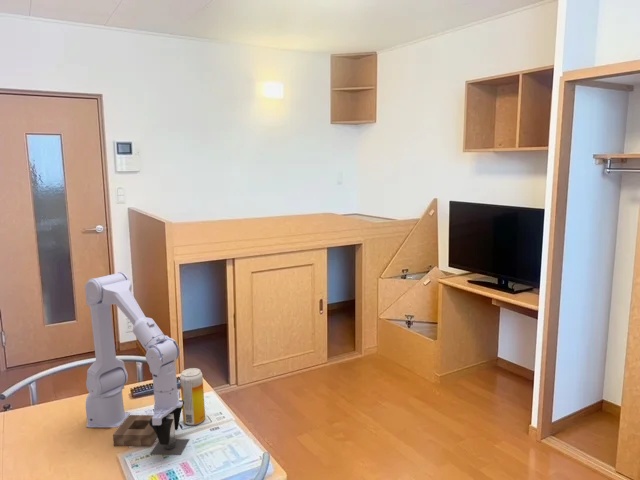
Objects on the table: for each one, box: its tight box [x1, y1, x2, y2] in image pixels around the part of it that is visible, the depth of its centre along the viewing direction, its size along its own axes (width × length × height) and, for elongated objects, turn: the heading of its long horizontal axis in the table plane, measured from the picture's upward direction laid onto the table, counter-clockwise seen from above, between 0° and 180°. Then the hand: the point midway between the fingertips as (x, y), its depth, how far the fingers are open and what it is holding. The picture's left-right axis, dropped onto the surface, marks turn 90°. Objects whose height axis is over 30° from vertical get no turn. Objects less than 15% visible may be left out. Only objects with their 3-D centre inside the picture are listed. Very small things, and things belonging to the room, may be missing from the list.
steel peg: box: [164, 412, 177, 450], centre depth 128 cm, size 3×3×9 cm
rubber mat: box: [149, 438, 190, 456], centre depth 129 cm, size 8×7×1 cm
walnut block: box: [112, 414, 158, 448], centre depth 134 cm, size 10×10×4 cm
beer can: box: [179, 367, 206, 426], centre depth 140 cm, size 6×6×15 cm
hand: (169, 436), depth 128 cm, fingers open, 6 cm apart
